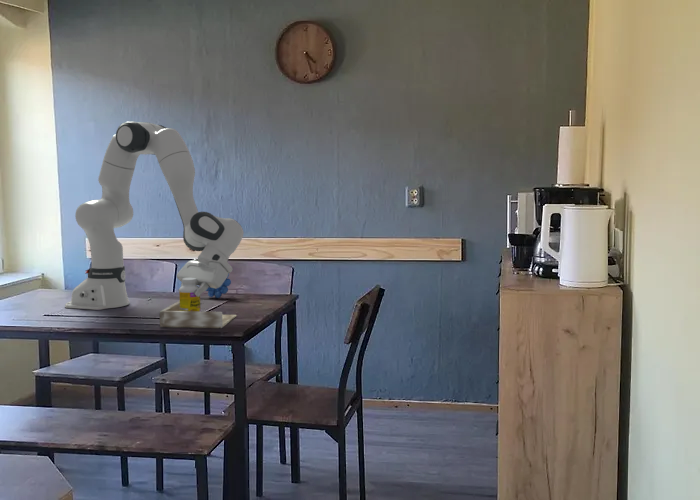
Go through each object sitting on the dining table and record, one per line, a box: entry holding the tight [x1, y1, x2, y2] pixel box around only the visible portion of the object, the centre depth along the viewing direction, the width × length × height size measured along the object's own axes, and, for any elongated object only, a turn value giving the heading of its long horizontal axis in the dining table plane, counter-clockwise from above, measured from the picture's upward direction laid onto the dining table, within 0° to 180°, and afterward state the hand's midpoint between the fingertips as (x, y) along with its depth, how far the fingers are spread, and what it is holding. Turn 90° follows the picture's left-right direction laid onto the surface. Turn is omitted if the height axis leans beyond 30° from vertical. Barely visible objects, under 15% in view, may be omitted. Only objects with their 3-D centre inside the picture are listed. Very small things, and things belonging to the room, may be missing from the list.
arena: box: [159, 300, 237, 329], centre depth 238 cm, size 20×18×5 cm
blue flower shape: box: [205, 273, 232, 299], centre depth 280 cm, size 12×7×12 cm, turn 72°
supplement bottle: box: [178, 278, 202, 311], centre depth 236 cm, size 7×7×13 cm
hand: (188, 294), depth 236 cm, fingers closed on supplement bottle, 7 cm apart
